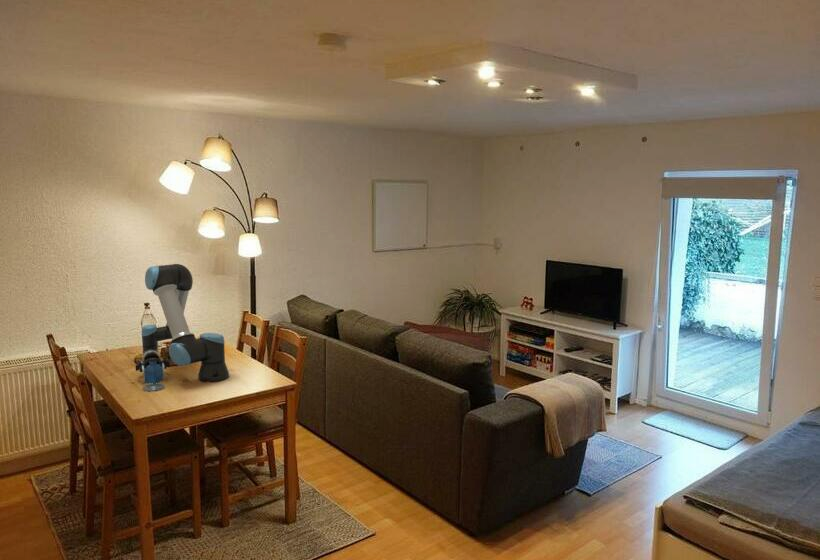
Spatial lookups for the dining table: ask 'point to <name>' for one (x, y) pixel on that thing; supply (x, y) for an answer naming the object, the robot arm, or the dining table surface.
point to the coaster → (153, 387)
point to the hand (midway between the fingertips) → (153, 370)
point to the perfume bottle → (153, 372)
